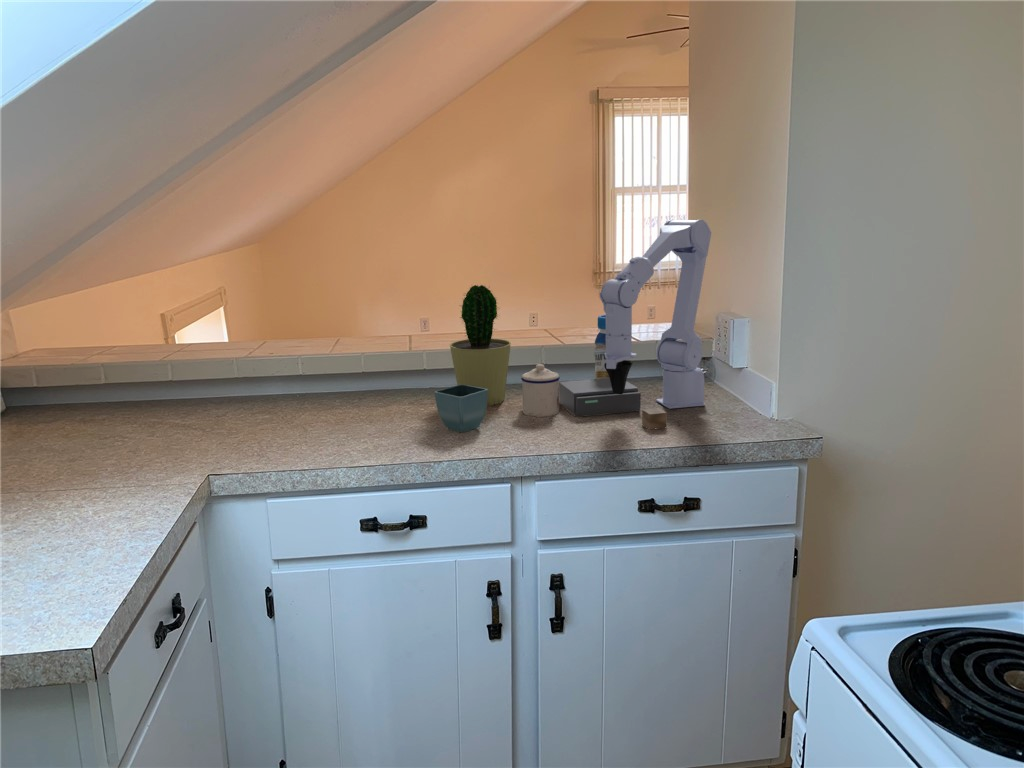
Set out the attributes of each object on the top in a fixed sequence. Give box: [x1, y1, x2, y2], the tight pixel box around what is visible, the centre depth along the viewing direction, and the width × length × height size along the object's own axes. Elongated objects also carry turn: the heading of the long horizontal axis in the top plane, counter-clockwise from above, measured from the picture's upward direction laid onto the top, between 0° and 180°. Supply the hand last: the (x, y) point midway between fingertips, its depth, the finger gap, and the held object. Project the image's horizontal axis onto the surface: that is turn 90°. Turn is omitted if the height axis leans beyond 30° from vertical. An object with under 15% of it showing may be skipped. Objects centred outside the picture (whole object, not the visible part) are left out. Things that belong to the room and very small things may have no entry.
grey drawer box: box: [559, 378, 639, 417], centre depth 181 cm, size 16×13×5 cm
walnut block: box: [641, 407, 668, 430], centre depth 164 cm, size 4×4×4 cm
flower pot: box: [433, 384, 488, 434], centre depth 165 cm, size 9×9×9 cm
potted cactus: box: [449, 284, 512, 407], centre depth 186 cm, size 15×15×30 cm
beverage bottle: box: [593, 314, 609, 379], centre depth 193 cm, size 8×8×20 cm
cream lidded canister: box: [520, 363, 561, 418], centre depth 178 cm, size 12×9×12 cm
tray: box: [575, 391, 642, 418], centre depth 179 cm, size 16×12×4 cm
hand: (618, 393), depth 168 cm, fingers closed
